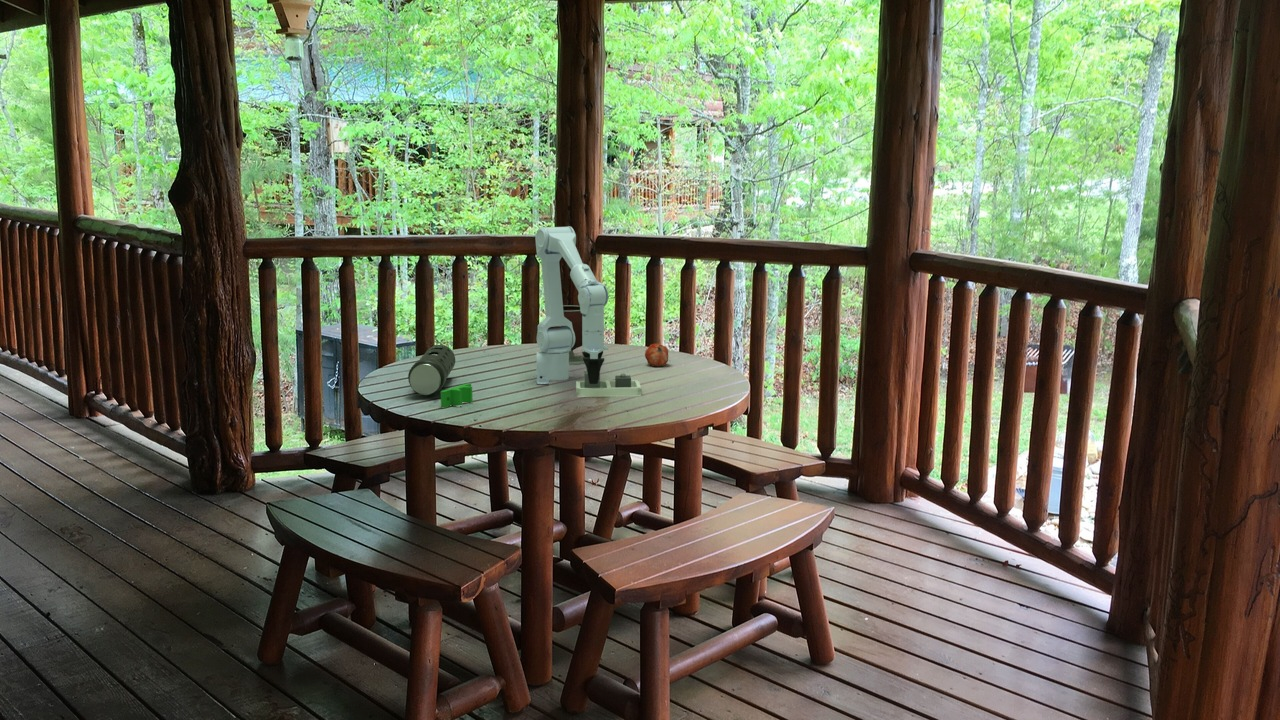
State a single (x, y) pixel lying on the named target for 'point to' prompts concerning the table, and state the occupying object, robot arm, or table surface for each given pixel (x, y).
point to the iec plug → (586, 381)
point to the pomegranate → (656, 355)
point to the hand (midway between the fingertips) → (593, 380)
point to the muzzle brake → (431, 370)
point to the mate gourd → (576, 318)
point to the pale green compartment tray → (608, 389)
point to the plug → (622, 381)
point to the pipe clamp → (456, 395)
